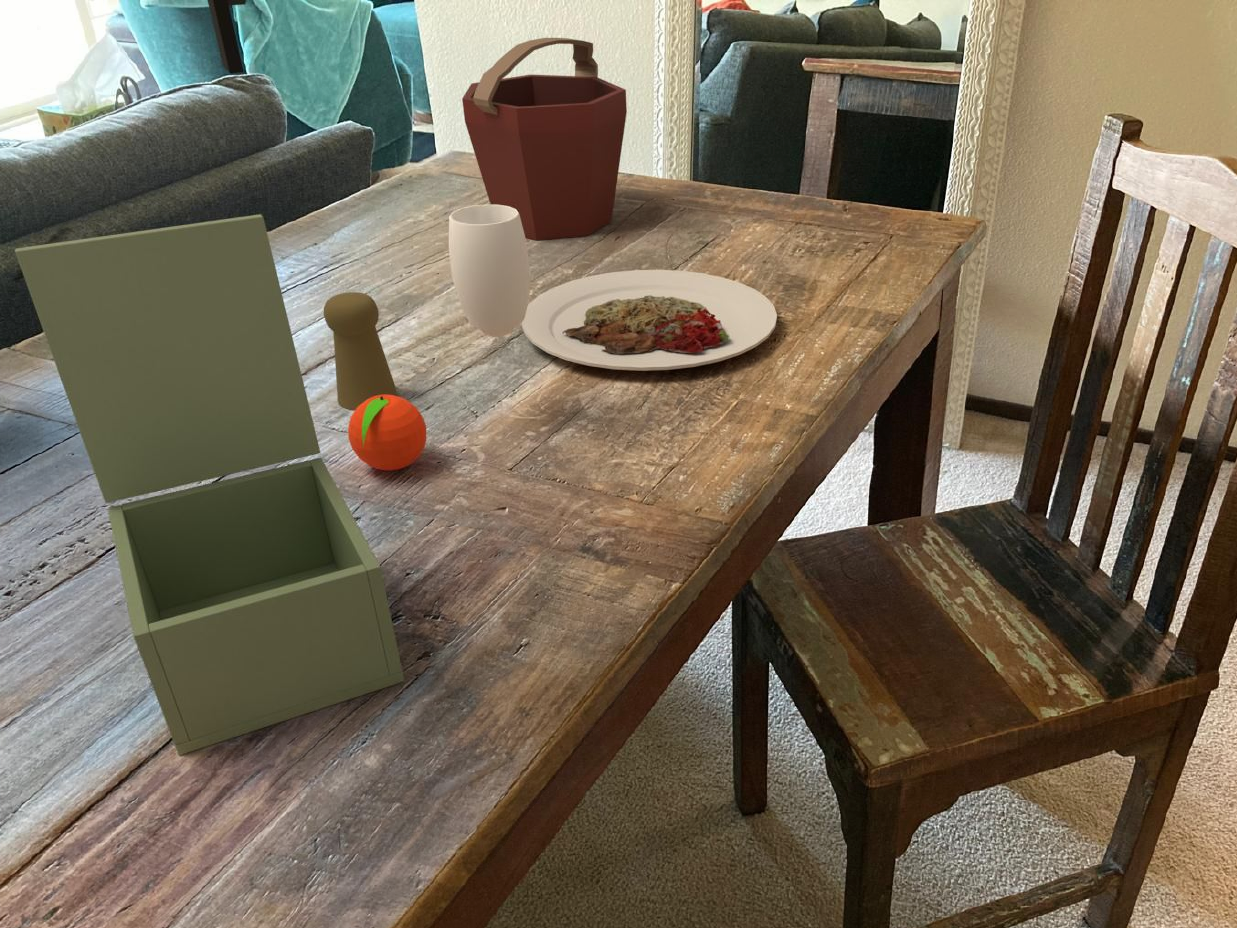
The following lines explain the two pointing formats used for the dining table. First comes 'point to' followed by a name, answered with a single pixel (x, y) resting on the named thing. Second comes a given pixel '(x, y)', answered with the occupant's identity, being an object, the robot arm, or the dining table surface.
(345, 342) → the cork
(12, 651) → the dining table surface
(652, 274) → the plated food
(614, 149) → the bucket
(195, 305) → the lid
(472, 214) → the cup
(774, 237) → the dining table surface
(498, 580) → the dining table surface
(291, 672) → the chest
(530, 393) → the dining table surface
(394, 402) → the clementine
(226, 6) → the robot arm
